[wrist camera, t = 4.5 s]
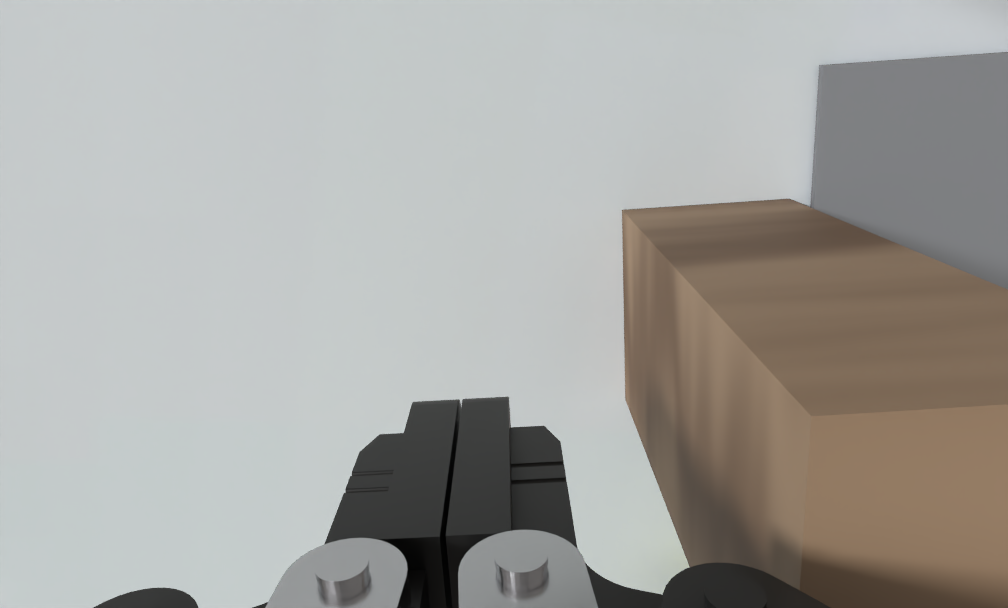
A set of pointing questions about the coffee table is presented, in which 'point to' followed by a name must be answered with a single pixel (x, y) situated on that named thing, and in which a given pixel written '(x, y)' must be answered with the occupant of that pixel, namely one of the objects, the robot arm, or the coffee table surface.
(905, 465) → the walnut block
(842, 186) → the mat
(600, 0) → the coffee table surface
